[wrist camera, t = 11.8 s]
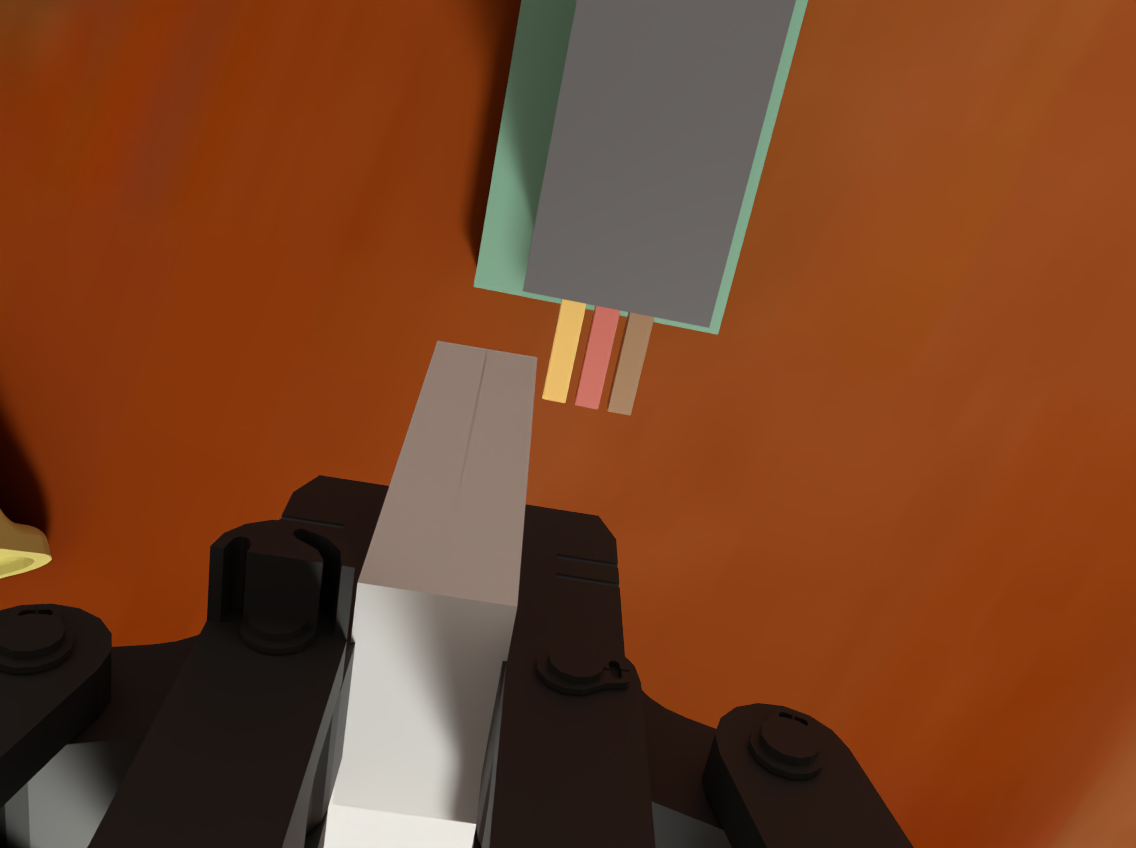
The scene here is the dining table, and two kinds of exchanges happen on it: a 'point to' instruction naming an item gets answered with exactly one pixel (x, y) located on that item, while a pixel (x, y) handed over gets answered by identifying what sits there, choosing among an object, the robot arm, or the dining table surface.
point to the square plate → (392, 830)
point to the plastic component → (21, 547)
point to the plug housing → (647, 173)
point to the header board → (529, 140)
